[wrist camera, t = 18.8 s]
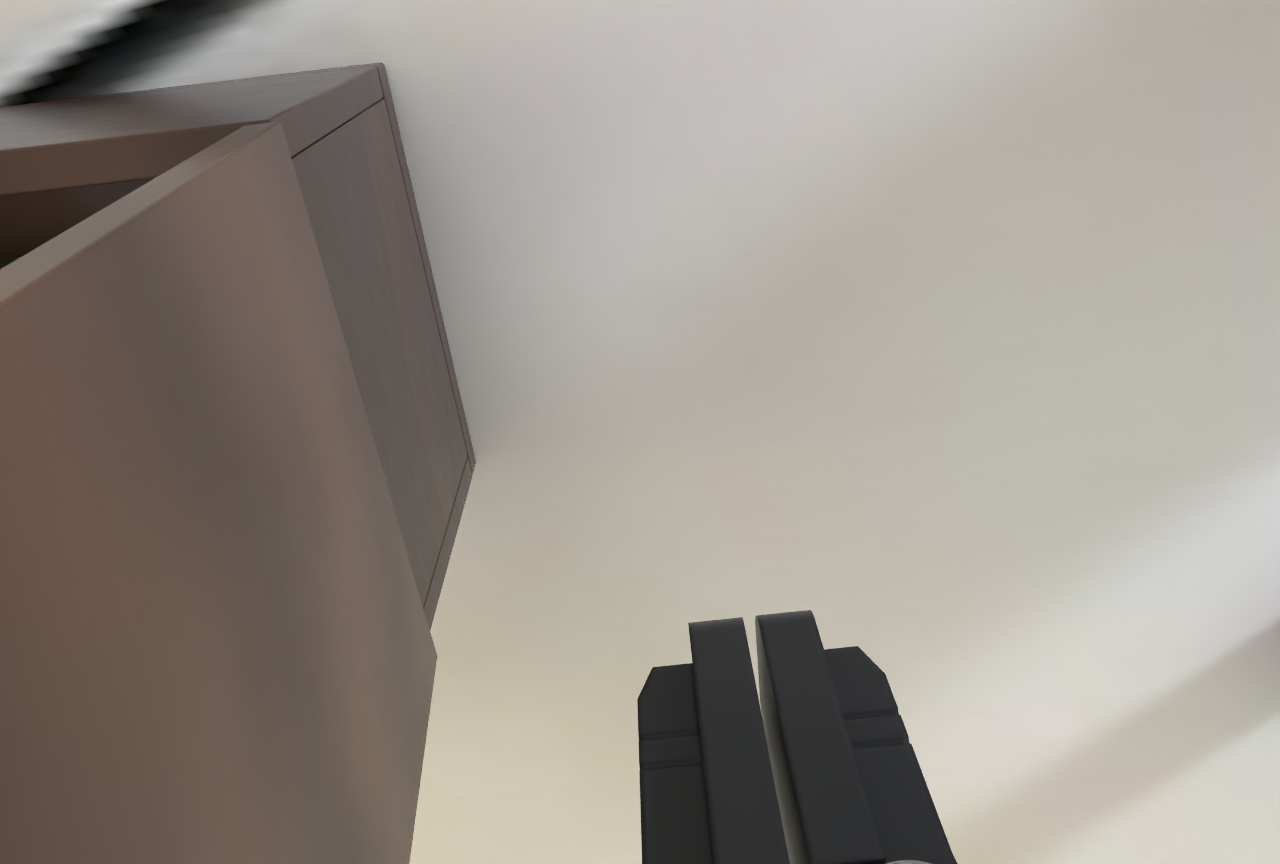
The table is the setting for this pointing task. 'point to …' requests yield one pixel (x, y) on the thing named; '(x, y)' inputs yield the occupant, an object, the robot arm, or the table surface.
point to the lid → (199, 543)
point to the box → (343, 229)
